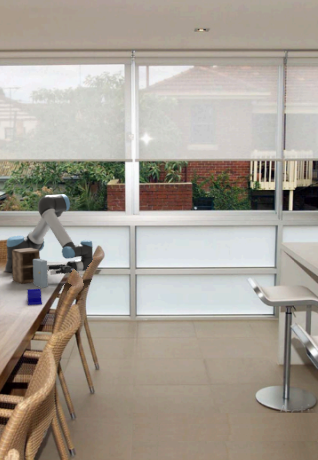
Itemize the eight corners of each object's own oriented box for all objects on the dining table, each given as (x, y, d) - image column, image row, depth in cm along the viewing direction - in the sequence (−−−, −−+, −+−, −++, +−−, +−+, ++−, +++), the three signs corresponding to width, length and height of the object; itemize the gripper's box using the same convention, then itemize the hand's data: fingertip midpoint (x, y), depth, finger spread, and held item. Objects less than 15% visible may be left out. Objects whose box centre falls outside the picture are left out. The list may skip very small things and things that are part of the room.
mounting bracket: (41, 305, 321) (41, 294, 320) (28, 305, 319) (27, 294, 319) (40, 297, 338) (40, 286, 338) (27, 297, 337) (27, 287, 336)
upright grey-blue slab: (32, 285, 367) (31, 259, 365) (39, 284, 370) (38, 258, 368) (40, 287, 359) (39, 261, 357) (47, 286, 363) (46, 260, 360)
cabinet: (12, 280, 379) (11, 249, 376) (31, 277, 388) (30, 247, 385) (21, 284, 370) (20, 252, 367) (41, 280, 379) (40, 249, 376)
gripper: (85, 275, 370) (55, 280, 356) (64, 269, 389) (35, 273, 375) (85, 263, 369) (55, 268, 355) (63, 258, 388) (34, 262, 374)
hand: (44, 271), depth 365 cm, fingers open, 13 cm apart
